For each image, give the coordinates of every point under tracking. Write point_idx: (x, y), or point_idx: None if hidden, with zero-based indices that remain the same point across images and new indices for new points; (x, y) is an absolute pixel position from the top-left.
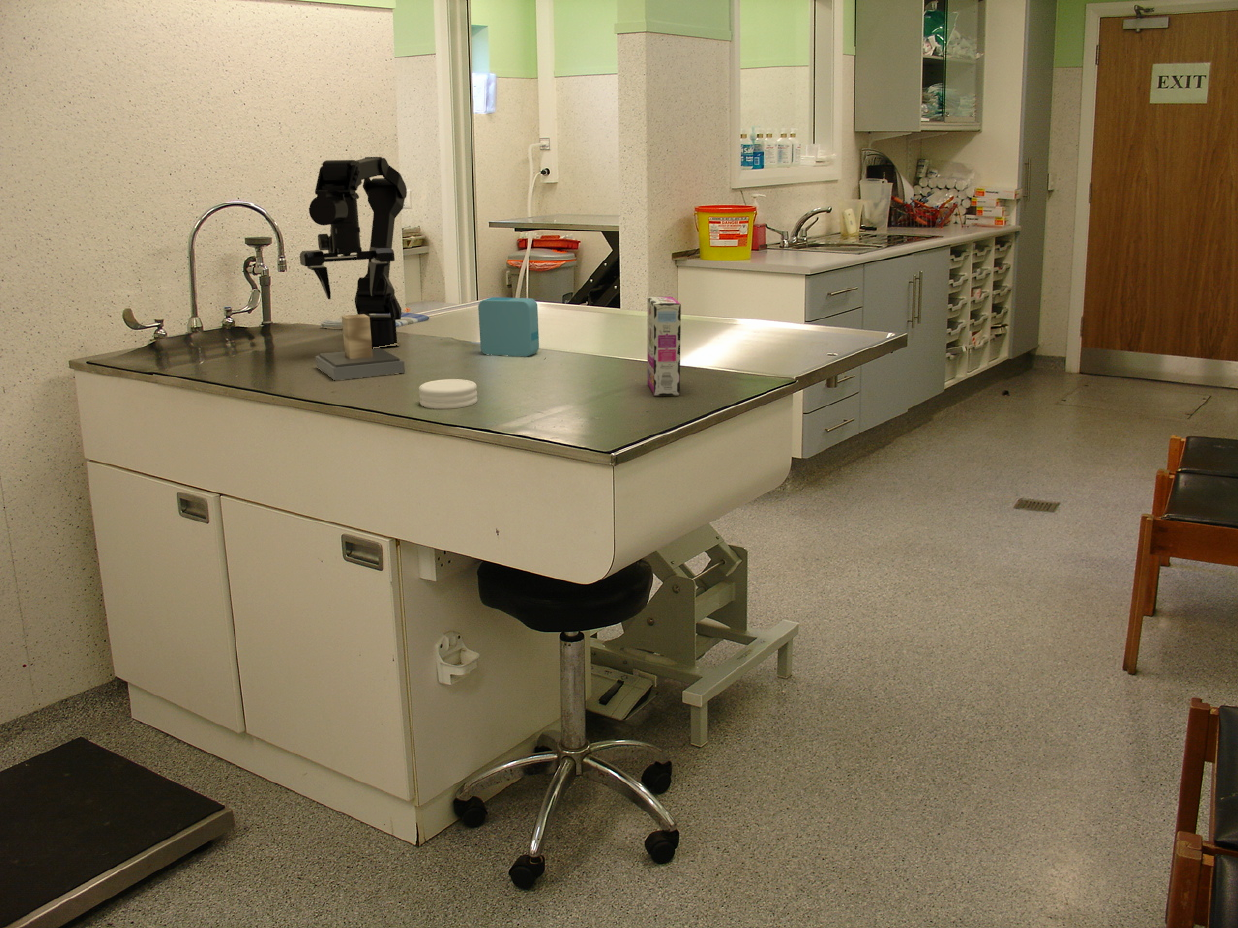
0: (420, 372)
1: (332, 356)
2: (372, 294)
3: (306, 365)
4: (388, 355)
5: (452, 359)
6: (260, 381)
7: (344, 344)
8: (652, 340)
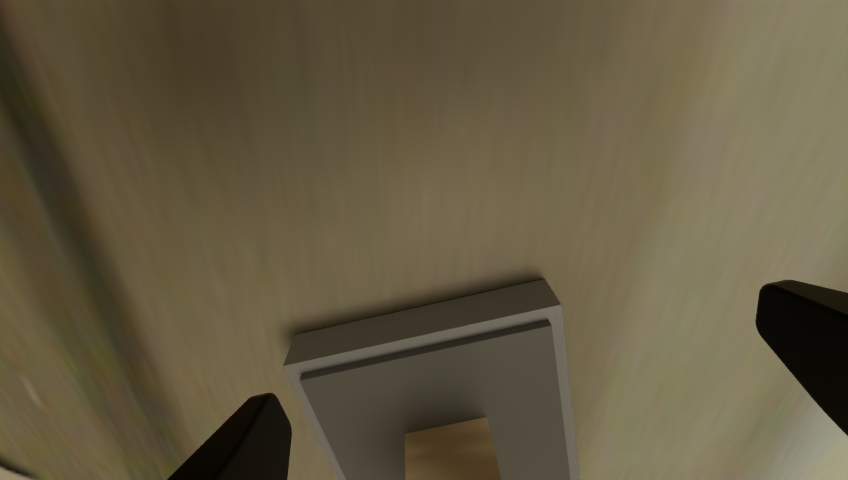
0: (612, 465)
1: (358, 441)
2: (775, 348)
3: (244, 272)
4: (552, 466)
5: None
6: (154, 474)
7: (406, 478)
8: None
